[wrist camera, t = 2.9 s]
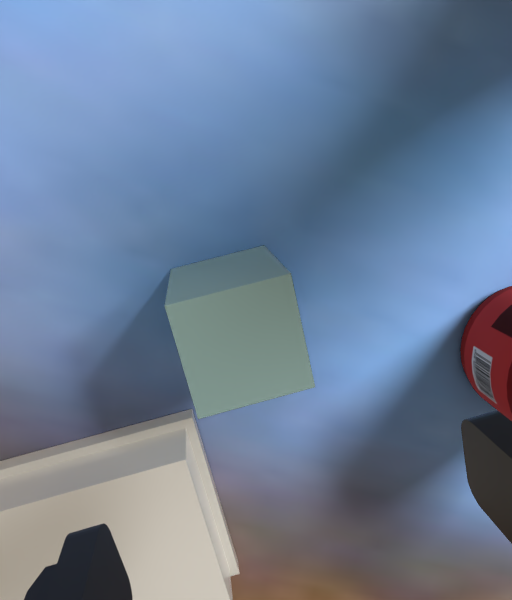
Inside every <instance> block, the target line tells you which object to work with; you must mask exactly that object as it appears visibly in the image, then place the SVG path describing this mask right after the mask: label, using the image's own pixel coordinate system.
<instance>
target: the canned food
mask: <svg viewBox="0 0 512 600" xmlns="http://www.w3.org/2000/svg"><path fill="white" fill-rule="evenodd" d="M460 351H461V362H462V365H463V369H464V372H465V374H466V376H467V378H468V379H469V381H470V383H471V385H472V387H473V389H474V390H475V391H476V392H477V393H478V394H479V395H480V396H481V397H482V398H483V399H484V400H485V401H487V402H488V403H489V404H490V405H492V406H493V407H494V408H495V409H497V410H498V411H499V412H500V413H502V414H503V415H504V416H506V417H507V418H508V419H509V420H511V421H512V286H510V287H507V288H505V289H502V290H500V291H498V292H496V293H494V294H493V295H491V296H490V297H488V298H487V299H486V300H485V301H484V302H483V303H482V304H480V305H479V306H478V308H477V309H476V310H475V312H474V313H473V314H472V315H471V317H470V319H469V321H468V323H467V325H466V327H465V330H464V333H463V336H462V341H461V349H460Z"/></svg>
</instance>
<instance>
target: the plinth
mask: <svg viewBox="0 0 512 600" xmlns="http://www.w3.org/2000/svg"><path fill="white" fill-rule="evenodd" d="M103 523H104V524H106V525H107V526H108V528H109V529H110V532H111V534H112V537H113V539H114V542H115V544H116V547H117V549H118V552H119V554H120V557H121V559H122V562H123V565H124V567H125V570H126V572H127V575H128V577H129V581H130V585H131V590H132V599H133V600H233V598H232V588H231V579H230V576H233V575H236V574H239V566H238V560H237V556H236V553H235V550H234V546H233V543H232V540H231V536H230V533H229V530H228V526H227V523H226V520H225V516H224V513H223V510H222V506H221V503H220V500H219V496H218V493H217V490H216V486H215V483H214V480H213V476H212V473H211V470H210V466H209V463H208V460H207V456H206V453H205V450H204V446H203V443H202V440H201V436H200V433H199V430H198V426H197V423H196V420H195V416H194V413H193V410H192V409H189V410H185V411H182V412H178V413H174V414H171V415H167V416H164V417H160V418H156V419H153V420H149V421H145V422H142V423H138V424H134V425H131V426H127V427H123V428H120V429H116V430H112V431H109V432H105V433H101V434H98V435H94V436H90V437H87V438H83V439H79V440H76V441H72V442H68V443H65V444H61V445H57V446H54V447H50V448H46V449H43V450H39V451H35V452H32V453H28V454H24V455H21V456H17V457H13V458H10V459H6V460H2V461H0V600H24V598H25V596H26V593H27V591H28V589H29V588H30V587H31V585H32V584H33V583H34V581H35V580H36V579H37V577H38V576H39V575H40V573H41V572H42V571H43V569H44V568H45V567H47V566H51V565H54V564H57V562H58V559H59V556H60V553H61V550H62V547H63V544H64V541H65V538H66V536H67V535H68V534H69V533H72V532H75V531H79V530H82V529H86V528H89V527H93V526H96V525H99V524H103Z"/></svg>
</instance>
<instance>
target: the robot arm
mask: <svg viewBox="0 0 512 600" xmlns="http://www.w3.org/2000/svg"><path fill="white" fill-rule="evenodd" d="M461 431H462V439H463V447H464V455H465V464H466V472H467V479H468V483H469V486H470V489H471V491H472V494H473V496H474V498H475V499H476V501H477V503H478V504H479V506H480V507H481V508H482V509H483V511H484V512H485V513H486V514H487V515H488V516H489V518H490V519H491V520H492V521H493V522H494V523H495V525H496V526H497V527H498V528H499V529H500V530H501V532H502V533H503V534H504V535H505V536H506V537H507V539H508V540H509V541H510V542H511V543H512V421H511V420H509V419H508V418H507V417H506V416H504V415H503V414H502V413H500V412H498V411H494V412H490V413H487V414H483V415H480V416H476V417H473V418H470V419H466V420H464V421H463V422H462V425H461ZM24 600H133V599H132V590H131V585H130V581H129V577H128V575H127V572H126V570H125V567H124V565H123V562H122V559H121V557H120V554H119V552H118V549H117V547H116V544H115V542H114V539H113V537H112V534H111V532H110V529H109V528H108V526H107V525H106V524H104V523H103V524H99V525H96V526H93V527H89V528H86V529H82V530H79V531H75V532H72V533H69V534H68V535H67V536H66V538H65V541H64V544H63V547H62V550H61V553H60V556H59V559H58V562H57V564H54V565H51V566H47V567H45V568H44V569H43V571H42V572H41V573H40V575H39V576H38V577H37V579H36V580H35V581H34V583H33V584H32V585H31V587H30V588H29V589H28V591H27V593H26V596H25V598H24Z"/></svg>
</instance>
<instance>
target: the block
mask: <svg viewBox="0 0 512 600" xmlns="http://www.w3.org/2000/svg"><path fill="white" fill-rule="evenodd" d="M165 309H166V313H167V316H168V319H169V323H170V326H171V329H172V333H173V336H174V339H175V343H176V346H177V350H178V353H179V356H180V360H181V363H182V366H183V370H184V373H185V376H186V380H187V383H188V386H189V390H190V393H191V397H192V400H193V403H194V407H195V410H196V413H197V417H198V419H201V418H204V417H208V416H212V415H215V414H219V413H222V412H226V411H230V410H233V409H237V408H241V407H244V406H248V405H252V404H255V403H259V402H263V401H266V400H270V399H274V398H277V397H281V396H285V395H288V394H292V393H295V392H299V391H303V390H306V389H310V388H314V387H315V384H314V380H313V375H312V370H311V365H310V361H309V356H308V351H307V347H306V342H305V337H304V333H303V328H302V323H301V319H300V314H299V309H298V304H297V300H296V295H295V290H294V286H293V281H292V276H291V273H290V272H289V271H288V270H287V269H286V268H285V267H284V266H283V265H282V264H281V263H280V261H279V260H278V259H277V258H276V257H275V256H274V255H273V254H272V253H271V252H270V251H269V250H268V249H267V248H266V247H265V246H264V245H263V246H259V247H255V248H251V249H247V250H243V251H239V252H235V253H231V254H227V255H224V256H220V257H216V258H212V259H208V260H204V261H200V262H196V263H192V264H188V265H184V266H180V267H176V268H172V269H171V270H170V276H169V282H168V288H167V294H166V300H165Z"/></svg>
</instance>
